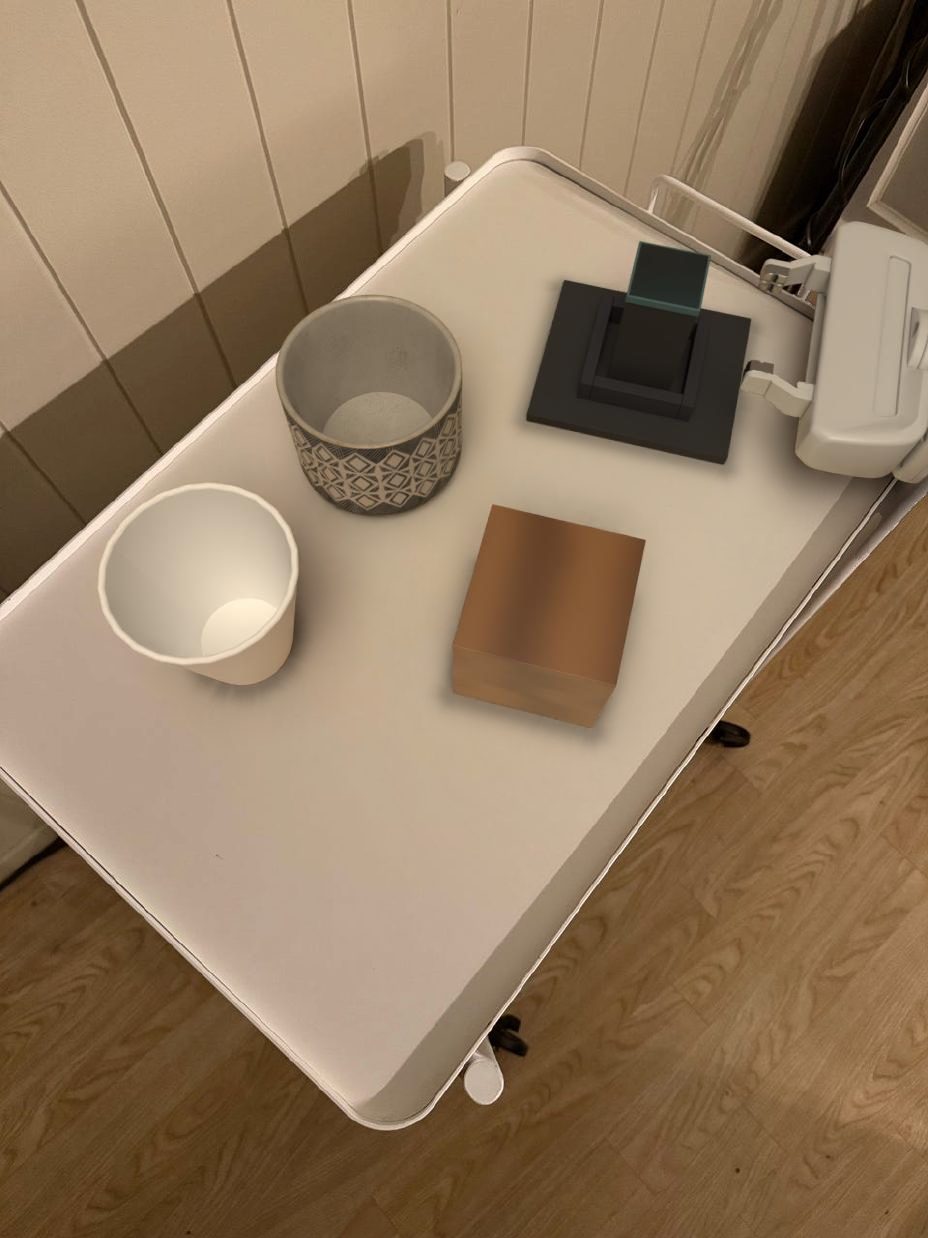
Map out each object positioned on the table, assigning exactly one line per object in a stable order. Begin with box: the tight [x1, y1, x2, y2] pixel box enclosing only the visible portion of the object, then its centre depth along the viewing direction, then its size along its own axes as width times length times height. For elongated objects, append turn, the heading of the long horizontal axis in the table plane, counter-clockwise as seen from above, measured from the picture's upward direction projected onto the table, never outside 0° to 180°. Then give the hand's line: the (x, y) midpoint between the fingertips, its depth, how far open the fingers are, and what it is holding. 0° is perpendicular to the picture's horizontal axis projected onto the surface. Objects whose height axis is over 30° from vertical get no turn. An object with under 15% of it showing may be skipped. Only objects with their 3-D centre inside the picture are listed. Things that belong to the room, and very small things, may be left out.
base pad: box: [525, 279, 752, 465], centre depth 70 cm, size 16×14×3 cm
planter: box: [275, 294, 463, 516], centre depth 64 cm, size 13×13×10 cm
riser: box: [452, 503, 647, 729], centre depth 58 cm, size 10×10×10 cm
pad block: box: [607, 240, 712, 391], centre depth 66 cm, size 5×5×10 cm
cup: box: [97, 481, 300, 686], centre depth 57 cm, size 12×12×12 cm
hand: (752, 322), depth 64 cm, fingers open, 8 cm apart
